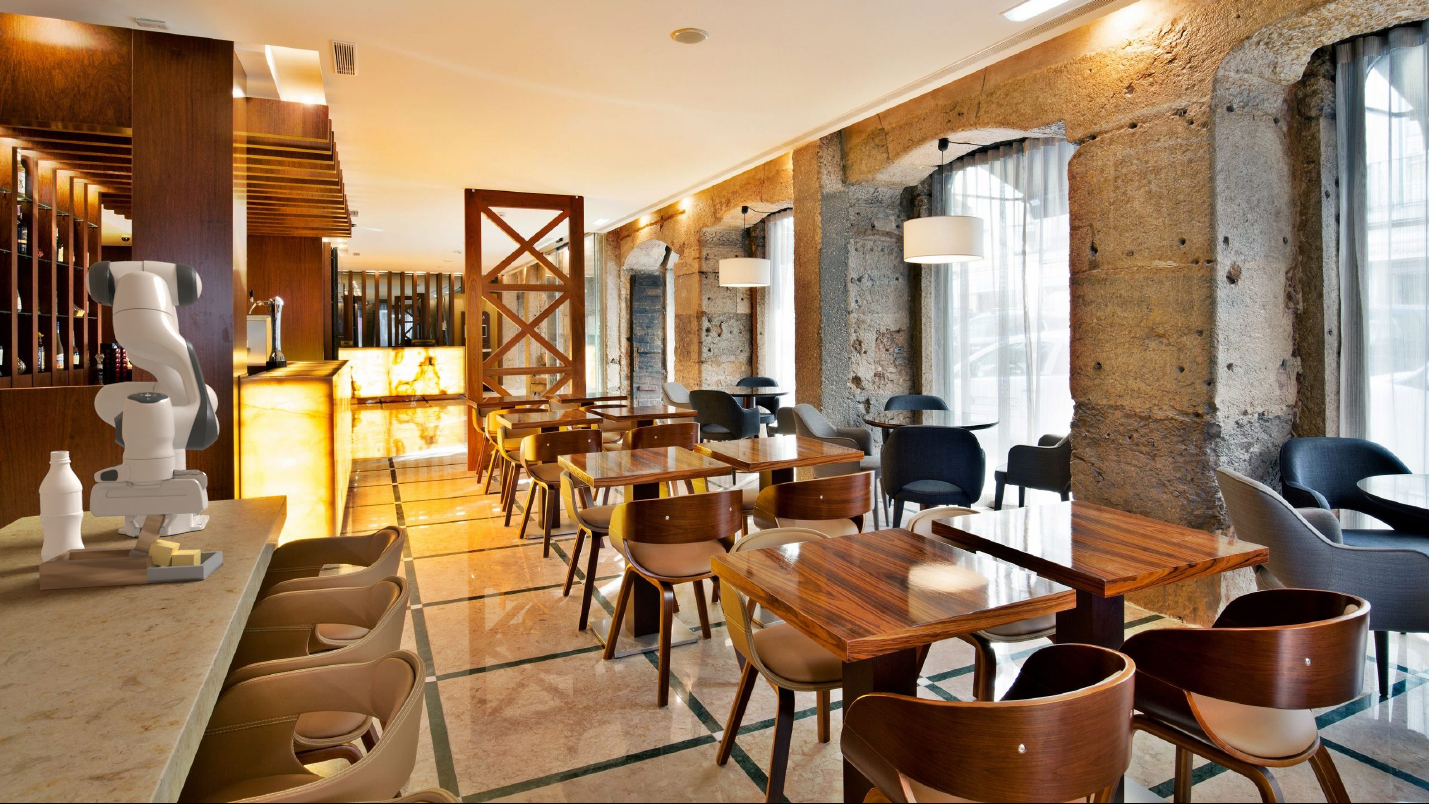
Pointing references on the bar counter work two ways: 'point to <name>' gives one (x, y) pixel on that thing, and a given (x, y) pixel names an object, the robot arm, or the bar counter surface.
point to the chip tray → (187, 570)
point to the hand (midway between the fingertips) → (151, 535)
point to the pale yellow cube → (186, 558)
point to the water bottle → (60, 508)
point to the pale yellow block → (163, 552)
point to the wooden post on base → (148, 535)
